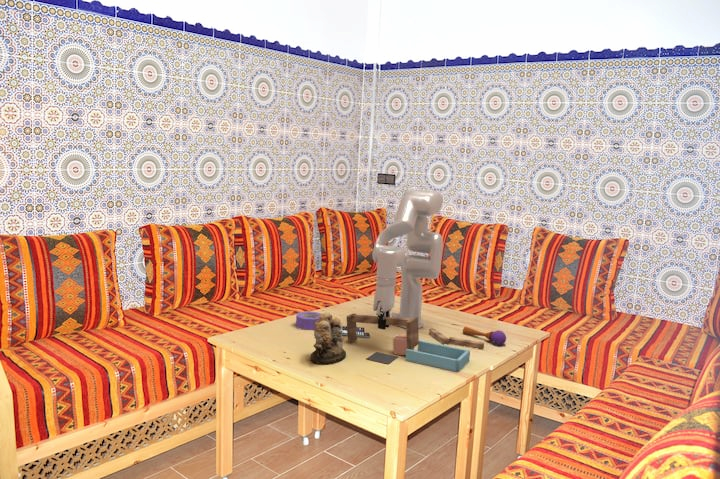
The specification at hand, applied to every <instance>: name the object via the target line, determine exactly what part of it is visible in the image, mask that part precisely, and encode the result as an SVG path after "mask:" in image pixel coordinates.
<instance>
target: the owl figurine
mask: <svg viewBox="0 0 720 479" xmlns="http://www.w3.org/2000/svg"><path fill="white" fill-rule="evenodd" d="M343 329H344V328H343V324H342V321H341V319H340V318H338V317H334V318H333V314H332V313H331V312H324V313H321V315H320V316H319V318H318V320H317V321H316V323H315V328H314V330H313V331H314V332H313V336H314V339H315V343H314V344H313V345H312V346H313V348H314V349H315V350H314V351H313V352H311V354H310V356H309V360H310V362H312V363H317V364H319V365H326V366H328V365H329V366H330V365H334V364H337V363H340V362H342V361H343V360H344V359H345V358H346V356H347V352H346V350H345V349H344V348H343V342H344V337H343Z"/></svg>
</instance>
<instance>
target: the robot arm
mask: <svg viewBox="0 0 720 479" xmlns="http://www.w3.org/2000/svg"><path fill="white" fill-rule="evenodd" d="M443 200H444V199H443V196H442V194H441V193H440V192H438V191H430V190H419V189H414V190H413V189H411V190H406V191H404V192H403V196H401V198H400V201H399V203H398V207H397V210H396V214H395V217H394V220H393V222H392V223H391V224H389V225H388V226H386V227H385V228H384V229H383V230H382V231H381V232H380V233H379V234H378V236H377V238H376V240H375V243H374V245H373V246H374V247H373V249H372V254H371V256H372V260H373V262H374V263H375V264H376V281H375V284H376V286H375V291H374V298H373V306H372V307H373V308H372V309H373V311H374V312H375V316H378V324H377V329H379V330H386V329H387V328H390V325H386V319H385V317H397V318H410V319H411V318H413V317H418V329H421V328H423V327H424V324H425V322H423V321H422V320H421V317H422V303H423V301H422V300H423V290H424V288H423V283H422V282H421V280H420V278H421V279H429V280H435V279H438V278H439V276H440V273H441V266H442V259H443V258H442V257H443V249H444V239H443V236H442V235H441V234H440V233H439V232H436V231H435V232H434V231H428V230H429V229H428V227H429V218H428V217H431V216H434V215H435V214H436V213H438V212H439V211H441V209H442V206H443V204H444V203H443ZM405 235H406V248H405V247H402V246H393V245H387V243H388V242H390V241H391V240H393V239H395V238H398V237H403V236H405ZM409 251H410V252H414V253H420V254H421V253H423V254H429V256H426V255H419V254H418V255H417V254H410V253H409ZM398 267H400V273H401V274H400V276H401V277H400V278H401V286H400V302H399V312H398V313H397V312H392V310H393V308H394V307H395V299H396V294H395V293H396V292H395V291H396V288H395V287H396V285H397V270H398ZM399 327H400V328H404V329H406V326H399Z"/></svg>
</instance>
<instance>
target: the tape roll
mask: <svg viewBox="0 0 720 479" xmlns="http://www.w3.org/2000/svg"><path fill="white" fill-rule="evenodd" d="M321 314H322V313H321V312H317V311H300V312H297V313H296V317H295V327H296V328H298V329H300V330H305V331H314V328H315V323H316V321H317V320H318V318H319V316H320V315H321Z"/></svg>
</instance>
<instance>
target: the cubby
mask: <svg viewBox="0 0 720 479" xmlns="http://www.w3.org/2000/svg"><path fill="white" fill-rule="evenodd" d="M470 354H471V351H470V350H469V349H464V348H459V347H453V346H449V345H443V344H441V343H440V344H439V343H435V342H430V341H424V340H421V339H419V344H418V345H417V350H415V349H414V350H410V349H407V350H406V355H405V361H408V362H410V363H411V362H412V363H416V364H421V365H425V366H430V367H435V368H439V369H443V370H447V371H452V372H458V373H459V372H460V371H461V370H462V369H463V367H465V366H466V365H467V364H468V363H469V362H470V356H471V355H470Z"/></svg>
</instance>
